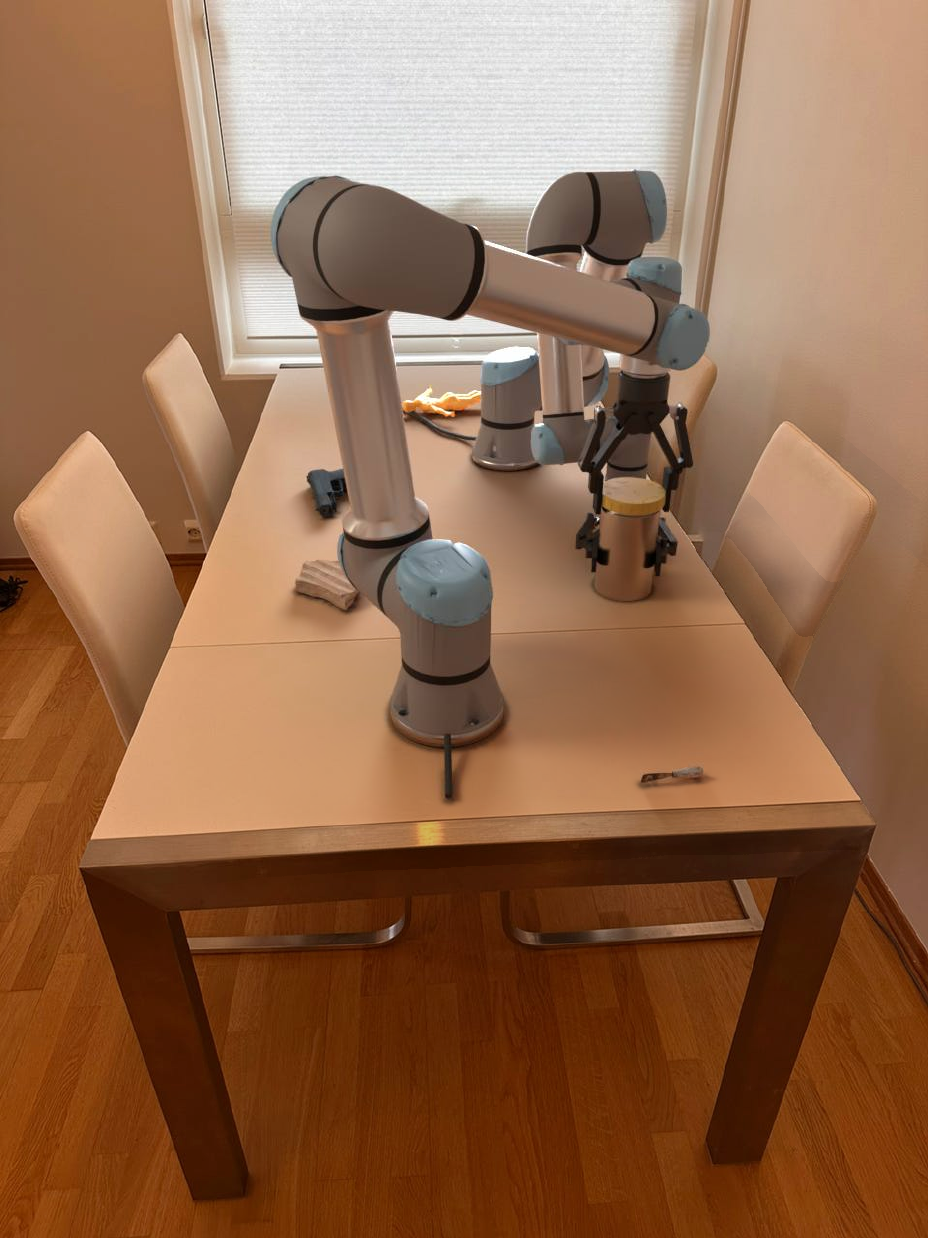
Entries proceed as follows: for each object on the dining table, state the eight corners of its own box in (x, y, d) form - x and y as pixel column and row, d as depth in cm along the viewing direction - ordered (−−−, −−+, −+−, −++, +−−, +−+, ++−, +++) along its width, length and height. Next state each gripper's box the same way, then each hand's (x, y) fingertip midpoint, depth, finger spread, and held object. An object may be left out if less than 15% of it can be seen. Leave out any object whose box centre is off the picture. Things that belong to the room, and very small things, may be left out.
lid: (596, 487, 146) (597, 476, 145) (660, 488, 146) (661, 477, 144) (600, 514, 137) (601, 503, 136) (668, 516, 137) (670, 504, 136)
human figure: (395, 413, 223) (394, 398, 221) (438, 390, 237) (438, 375, 235) (462, 429, 215) (462, 413, 213) (502, 404, 229) (503, 388, 227)
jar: (589, 596, 147) (596, 503, 138) (600, 569, 155) (607, 480, 146) (646, 605, 145) (657, 511, 136) (654, 577, 152) (665, 487, 143)
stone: (382, 577, 152) (381, 564, 151) (347, 611, 143) (346, 598, 142) (316, 564, 157) (314, 551, 155) (279, 596, 147) (277, 583, 146)
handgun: (377, 512, 175) (316, 519, 172) (362, 476, 189) (305, 483, 186) (376, 497, 173) (315, 504, 171) (361, 462, 187) (303, 469, 185)
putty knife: (703, 777, 109) (705, 767, 109) (642, 788, 108) (644, 777, 107) (700, 772, 110) (702, 762, 109) (639, 782, 109) (640, 771, 108)
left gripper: (572, 381, 126) (564, 523, 138) (729, 376, 128) (707, 516, 140) (563, 366, 133) (555, 502, 144) (712, 361, 134) (693, 497, 146)
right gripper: (685, 530, 162) (693, 592, 143) (563, 523, 165) (555, 582, 146) (690, 492, 158) (699, 550, 139) (565, 485, 161) (558, 541, 142)
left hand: (630, 509), depth 142 cm, fingers closed on lid, 10 cm apart
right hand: (626, 566), depth 143 cm, fingers closed on jar, 9 cm apart
